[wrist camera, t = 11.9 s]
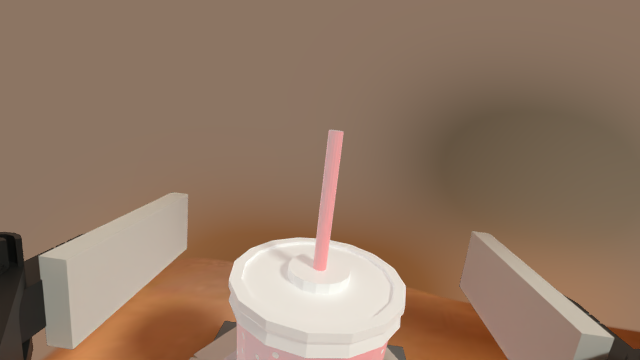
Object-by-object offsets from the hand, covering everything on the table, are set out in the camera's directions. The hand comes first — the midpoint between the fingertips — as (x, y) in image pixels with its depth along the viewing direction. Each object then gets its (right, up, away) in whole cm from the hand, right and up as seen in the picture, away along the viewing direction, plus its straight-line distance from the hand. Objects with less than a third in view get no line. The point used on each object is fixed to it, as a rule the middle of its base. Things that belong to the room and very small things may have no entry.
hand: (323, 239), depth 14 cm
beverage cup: (-1, -9, -1) cm, 10 cm away
